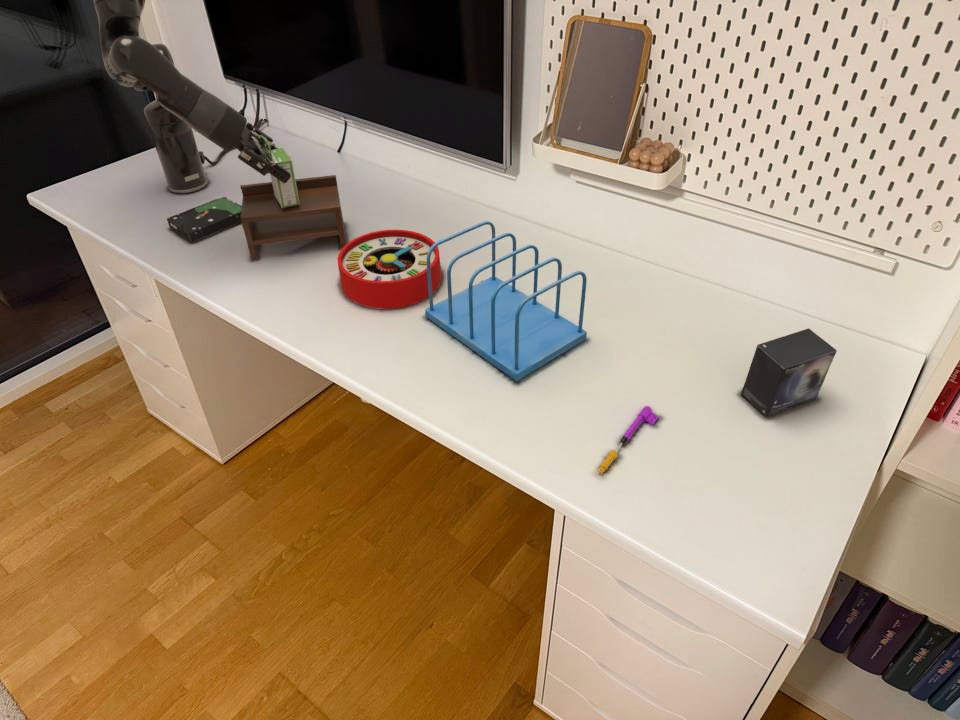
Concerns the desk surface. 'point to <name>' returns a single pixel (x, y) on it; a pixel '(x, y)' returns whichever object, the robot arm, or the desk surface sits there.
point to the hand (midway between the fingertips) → (288, 170)
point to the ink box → (282, 191)
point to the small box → (787, 372)
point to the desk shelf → (291, 213)
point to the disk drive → (206, 219)
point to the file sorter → (506, 314)
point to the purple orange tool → (630, 434)
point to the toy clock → (388, 269)
